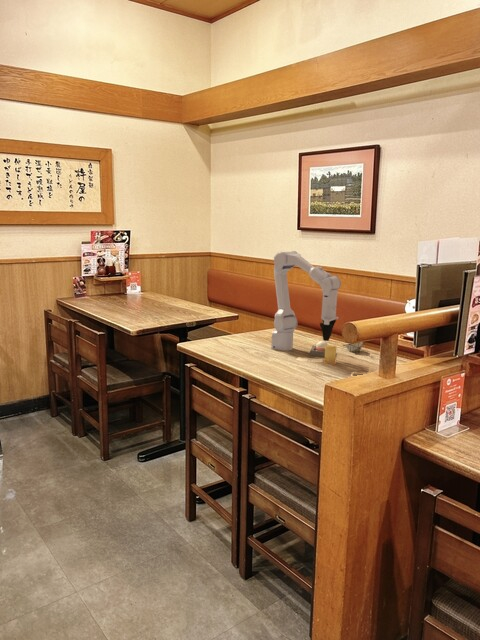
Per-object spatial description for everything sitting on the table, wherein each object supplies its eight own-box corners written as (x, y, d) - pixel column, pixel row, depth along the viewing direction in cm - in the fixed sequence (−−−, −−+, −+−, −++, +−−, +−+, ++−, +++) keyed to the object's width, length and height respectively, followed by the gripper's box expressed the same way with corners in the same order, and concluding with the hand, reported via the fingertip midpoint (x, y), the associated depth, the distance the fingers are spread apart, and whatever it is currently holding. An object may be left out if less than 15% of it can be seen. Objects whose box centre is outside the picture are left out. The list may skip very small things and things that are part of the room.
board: (295, 364, 204) (295, 361, 204) (302, 350, 225) (303, 348, 225) (337, 368, 200) (337, 365, 200) (341, 354, 221) (341, 352, 221)
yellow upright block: (323, 362, 204) (324, 347, 203) (324, 359, 208) (325, 344, 207) (334, 363, 203) (335, 348, 201) (335, 360, 207) (336, 345, 206)
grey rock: (356, 361, 224) (365, 347, 216) (339, 353, 225) (347, 339, 217) (360, 348, 230) (369, 334, 223) (343, 340, 231) (351, 326, 223)
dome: (314, 353, 215) (315, 341, 214) (316, 350, 220) (316, 339, 219) (327, 354, 213) (328, 343, 212) (329, 351, 219) (329, 340, 218)
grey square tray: (310, 356, 214) (310, 350, 213) (312, 350, 222) (312, 345, 222) (331, 358, 212) (331, 352, 211) (333, 352, 220) (333, 347, 220)
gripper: (337, 309, 196) (335, 343, 199) (340, 303, 210) (338, 335, 213) (319, 308, 198) (317, 341, 201) (323, 302, 212) (321, 333, 215)
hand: (327, 338), depth 207 cm, fingers open, 7 cm apart
